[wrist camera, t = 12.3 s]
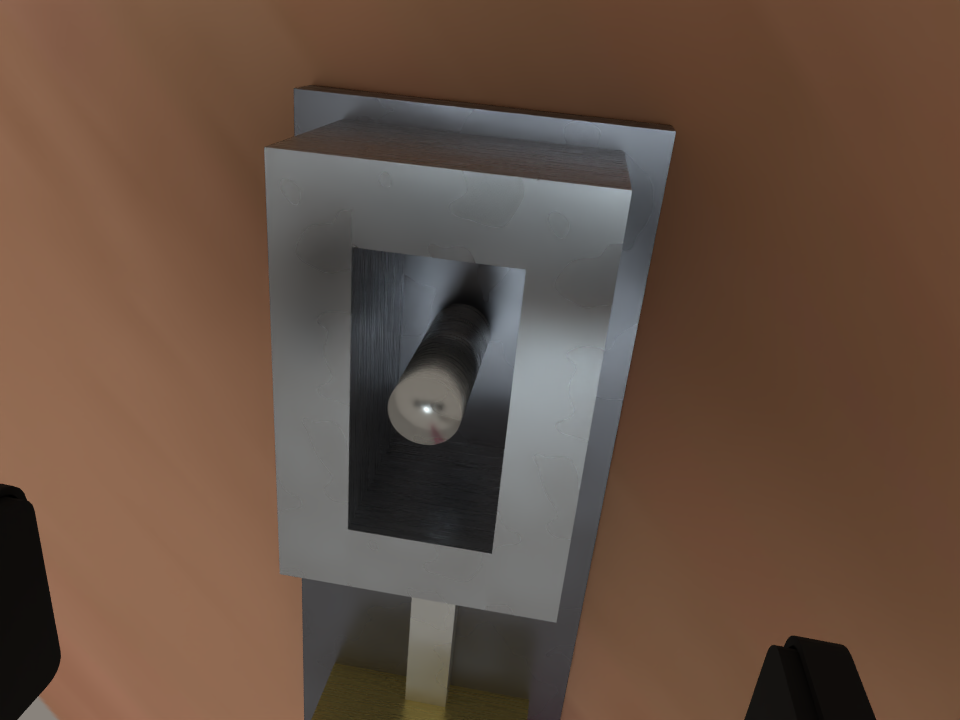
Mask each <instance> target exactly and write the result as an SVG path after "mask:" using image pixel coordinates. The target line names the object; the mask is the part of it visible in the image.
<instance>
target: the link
mask: <svg viewBox="0 0 960 720" xmlns="http://www.w3.org/2000/svg"><path fill="white" fill-rule="evenodd" d="M264 153H265V181H266V208H267V235H268V262H269V290H270V317H271V344H272V371H273V399H274V426H275V453H276V480H277V508H278V535H279V562H280V574H283V575H289V576H294V577H300V578H306V579H311V580H317V581H323V582H328V583H334V584H340V585H345V586H351V587H357V588H362V589H368V590H374V591H379V592H385V593H391V594H396V595H402V596H408V597H413V598H419V599H425V600H430V601H436V602H442V603H447V604H453V605H459V606H464V607H470V608H476V609H481V610H487V611H493V612H498V613H504V614H510V615H515V616H521V617H527V618H532V619H538V620H544V621H549V622H555V623H556V622H557V616H558V610H559V605H560V599H561V593H562V588H563V582H564V576H565V571H566V565H567V559H568V553H569V548H570V542H571V536H572V531H573V525H574V519H575V514H576V508H577V502H578V497H579V491H580V485H581V479H582V474H583V468H584V462H585V457H586V451H587V445H588V440H589V434H590V428H591V422H592V417H593V411H594V405H595V400H596V394H597V388H598V383H599V377H600V371H601V366H602V360H603V354H604V348H605V343H606V337H607V331H608V326H609V320H610V314H611V309H612V303H613V297H614V291H615V286H616V280H617V274H618V269H619V263H620V257H621V252H622V246H623V240H624V235H625V229H626V223H627V217H628V212H629V206H630V200H631V195H632V187H631V182H630V177H629V172H628V167H627V162H626V157H625V152H624V151H617V150H608V149H599V148H590V147H581V146H573V145H564V144H555V143H546V142H537V141H528V140H519V139H511V138H502V137H493V136H484V135H475V134H466V133H457V132H449V131H440V130H431V129H422V128H413V127H404V126H395V125H386V124H378V123H369V122H360V121H351V120H342V119H341V120H339V121H336V122H333V123H330V124H327V125H325V126H322V127H319V128H316V129H314V130H311V131H308V132H305V133H302V134H300V135H297V136H294V137H291V138H288V139H286V140H283V141H280V142H277V143H274V144H272V145H269V146H266V147H264ZM405 254H408V255H416V256H424V257H431V258H439V259H447V260H454V261H462V262H470V263H477V264H485V265H493V266H501V267H508V268H516V269H524V270H526V274H525V282H524V290H523V299H522V307H521V316H520V324H519V332H518V341H517V349H516V357H515V366H514V374H513V382H512V391H511V399H510V408H509V416H508V424H507V433H506V441H505V449H500V448H494V447H487V446H481V445H474V444H468V443H462V442H455V441H449V440H446V441H444V442H442V443H439V444H434V445H423V444H418V443H415V442H412V441H410V440H408V439H406V438H405V437H403V436H402V435H401V434H400V433H397V430H396V429H395V428H394V426H393V425H392V423H391V421H390V418H389V415H388V401H389V398H390V396H391V394H392V392H393V390H394V388H395V387H396V385H397V383H398V381H399V366H400V343H401V321H402V299H403V277H404V255H405Z"/></svg>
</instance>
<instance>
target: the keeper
mask: <svg viewBox="0 0 960 720" xmlns="http://www.w3.org/2000/svg"><path fill="white" fill-rule="evenodd" d="M341 119H342V120H351V121H360V122H369V123H378V124H386V125H395V126H404V127H413V128H422V129H431V130H440V131H449V132H457V133H466V134H475V135H484V136H493V137H502V138H511V139H519V140H528V141H537V142H546V143H555V144H564V145H573V146H581V147H590V148H599V149H608V150H617V151H624V152H625V157H626V162H627V167H628V172H629V177H630V182H631V187H632V195H631V200H630V206H629V212H628V217H627V223H626V229H625V235H624V240H623V246H622V252H621V257H620V263H619V269H618V274H617V280H616V286H615V291H614V297H613V303H612V309H611V314H610V320H609V326H608V331H607V337H606V343H605V348H604V354H603V360H602V366H601V371H600V377H599V383H598V388H597V394H596V400H595V405H594V411H593V417H592V422H591V428H590V434H589V440H588V445H587V451H586V457H585V462H584V468H583V474H582V479H581V485H580V491H579V497H578V502H577V508H576V514H575V519H574V525H573V531H572V536H571V542H570V548H569V553H568V559H567V565H566V571H565V576H564V582H563V588H562V593H561V599H560V605H559V610H558V616H557V622H556V623H555V622H549V621H544V620H538V619H532V618H527V617H521V616H515V615H510V614H504V613H498V612H493V611H487V610H481V609H476V608H470V607H464V606H459V605H453V604H447V603H442V602H436V601H430V600H425V599H419V598H413V597H408V596H402V595H396V594H391V593H385V592H379V591H374V590H368V589H362V588H357V587H351V586H345V585H340V584H334V583H328V582H323V581H317V580H311V579H306V578H302V609H303V669H304V720H560V717H561V712H562V707H563V702H564V697H565V692H566V687H567V682H568V677H569V672H570V667H571V661H572V656H573V651H574V646H575V641H576V636H577V631H578V626H579V621H580V616H581V611H582V606H583V601H584V596H585V591H586V585H587V580H588V575H589V570H590V565H591V560H592V555H593V550H594V545H595V540H596V535H597V530H598V525H599V520H600V514H601V509H602V504H603V499H604V494H605V489H606V484H607V479H608V474H609V469H610V464H611V459H612V454H613V449H614V443H615V438H616V433H617V428H618V423H619V418H620V413H621V408H622V403H623V398H624V393H625V388H626V383H627V378H628V373H629V367H630V362H631V357H632V352H633V347H634V342H635V337H636V332H637V327H638V322H639V317H640V312H641V307H642V302H643V296H644V291H645V286H646V281H647V276H648V271H649V266H650V261H651V256H652V251H653V246H654V241H655V236H656V231H657V226H658V220H659V215H660V210H661V205H662V200H663V195H664V190H665V185H666V180H667V175H668V170H669V165H670V160H671V155H672V149H673V144H674V139H675V134H676V131H675V129H674V128H673V127H672V126H671V125H662V124H653V123H644V122H636V121H627V120H618V119H609V118H600V117H591V116H582V115H573V114H564V113H555V112H546V111H537V110H528V109H519V108H510V107H501V106H493V105H484V104H475V103H466V102H457V101H448V100H439V99H430V98H421V97H412V96H403V95H394V94H385V93H376V92H367V91H359V90H350V89H341V88H332V87H323V86H314V85H309V86H304V87H299V88H294V130H295V136H297V135H300V134H302V133H305V132H308V131H311V130H314V129H316V128H319V127H322V126H325V125H327V124H330V123H333V122H336V121H339V120H341ZM525 274H526V270H524V269H516V268H508V267H501V266H493V265H485V264H477V263H470V262H462V261H454V260H447V259H439V258H431V257H424V256H416V255H408V254H405V255H404V277H403V299H402V321H401V343H400V366H399V381H398V383H397V385H396V387H395V388H394V390H393V392H392V394H391V396H390V398H389V401H388V415H389V418H390V421H391V423H392V425H393V426H394V428H395V429H396V430H397V433H400V434H401V435H402V436H403V437H405V438H406V439H408V440H410V441H412V442H415V443H418V444H423V445H434V444H439V443H442V442H444V441H446V440H449V441H455V442H462V443H468V444H474V445H481V446H487V447H494V448H500V449H505V441H506V433H507V424H508V416H509V408H510V399H511V391H512V382H513V374H514V366H515V357H516V349H517V341H518V332H519V324H520V316H521V307H522V299H523V290H524V282H525Z"/></svg>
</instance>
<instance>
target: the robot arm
mask: <svg viewBox="0 0 960 720" xmlns="http://www.w3.org/2000/svg"><path fill="white" fill-rule="evenodd" d="M60 659H61V651H60V646H59V641H58V635H57V630H56V624H55V619H54V613H53V608H52V603H51V597H50V592H49V586H48V581H47V575H46V570H45V565H44V559H43V554H42V548H41V543H40V538H39V532H38V527H37V521H36V516H35V511H34V508H33V505H32V504H31V503H30V502H29V501H27V499H26V497H25V494H24V492H23V491H22V490H21V489H20V488H17V487H14V486H10V485H5V484H0V720H17V719H18V718H19V717H20V716H21V715H22V714H23V713H24V711H25V710H26V709H27V708H28V707H29V706H30V705H31V704H32V702H33V701H34V700H35V699H36V698H37V697H38V696H39V695H40V694H41V692H42V691H43V690H44V689H45V688H46V687H47V686H48V685H49V683H50V682H51V681H52V679H53V678H54V676H55V674H56V672H57V670H58V667H59V664H60ZM745 720H876V718H875V715H874V713H873V710H872V708H871V705H870V703H869V700H868V697H867V695H866V692H865V690H864V687H863V684H862V682H861V679H860V677H859V674H858V672H857V669H856V666H855V664H854V661H853V659H852V656H851V654H850V652H849V650H848V649H847V648H846V647H845V646H844V645H841V644H835V643H830V642H825V641H820V640H815V639H809V638H804V637H799V636H790V637H789V638H788V639H787V641H786V643H785V645H784V647H782V646H776V645H772V646H771V647H770V648H769V650H768V652H767V654H766V657H765V660H764V663H763V666H762V669H761V672H760V675H759V678H758V681H757V684H756V687H755V690H754V693H753V696H752V699H751V702H750V705H749V708H748V711H747V714H746V717H745Z"/></svg>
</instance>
